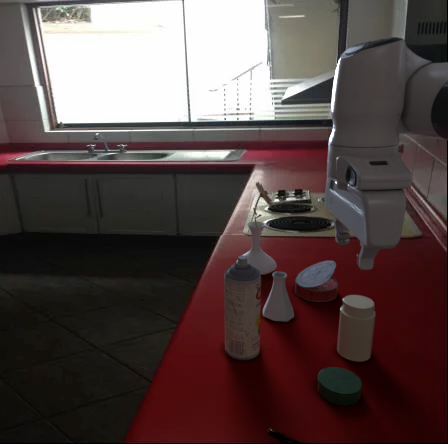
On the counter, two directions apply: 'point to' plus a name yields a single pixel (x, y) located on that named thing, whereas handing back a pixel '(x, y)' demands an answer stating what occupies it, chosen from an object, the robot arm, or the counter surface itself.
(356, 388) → the lid
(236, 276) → the aerosol can
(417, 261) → the counter surface
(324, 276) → the canned food
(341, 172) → the robot arm
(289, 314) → the flask
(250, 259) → the flower in vase
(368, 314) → the white jar
